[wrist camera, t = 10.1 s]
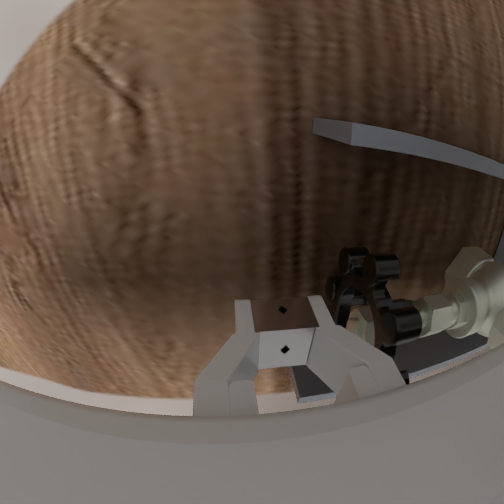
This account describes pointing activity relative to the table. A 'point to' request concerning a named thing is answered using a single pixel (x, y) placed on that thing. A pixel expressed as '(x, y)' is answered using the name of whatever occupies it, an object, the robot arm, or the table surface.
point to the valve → (422, 310)
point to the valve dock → (423, 349)
